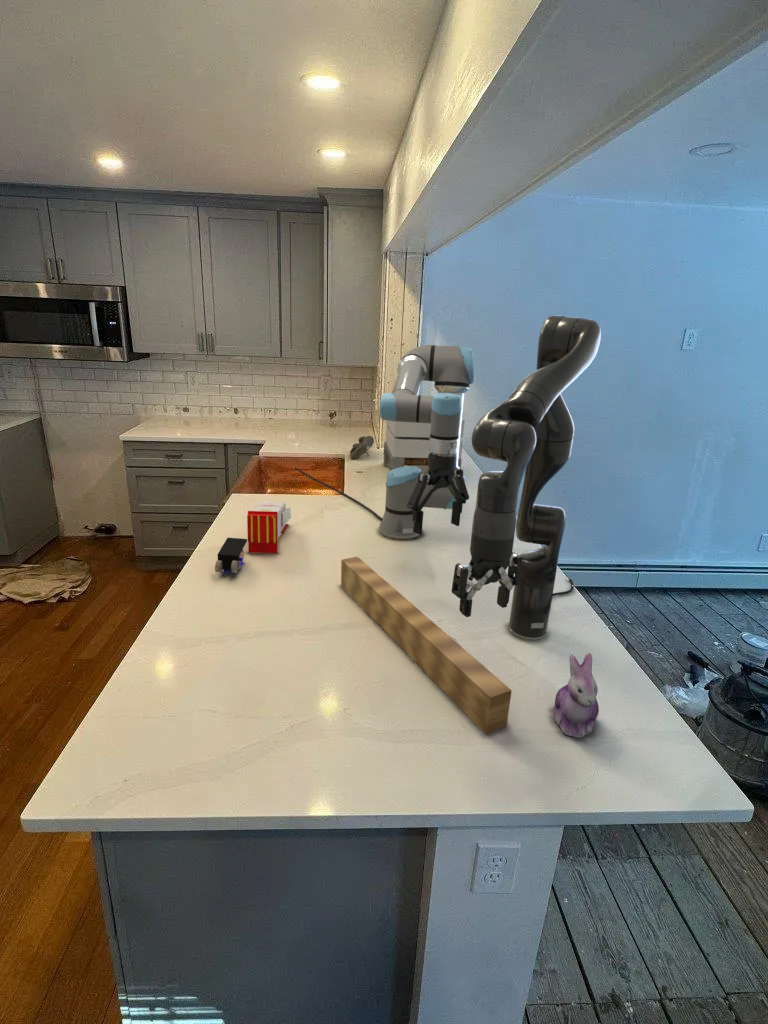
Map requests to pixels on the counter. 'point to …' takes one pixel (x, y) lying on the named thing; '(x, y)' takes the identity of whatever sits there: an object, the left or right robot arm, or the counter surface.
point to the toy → (266, 526)
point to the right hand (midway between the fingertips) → (484, 610)
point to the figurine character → (230, 556)
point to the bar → (429, 647)
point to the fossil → (361, 447)
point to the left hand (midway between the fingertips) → (436, 528)
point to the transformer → (410, 444)
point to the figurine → (577, 700)
